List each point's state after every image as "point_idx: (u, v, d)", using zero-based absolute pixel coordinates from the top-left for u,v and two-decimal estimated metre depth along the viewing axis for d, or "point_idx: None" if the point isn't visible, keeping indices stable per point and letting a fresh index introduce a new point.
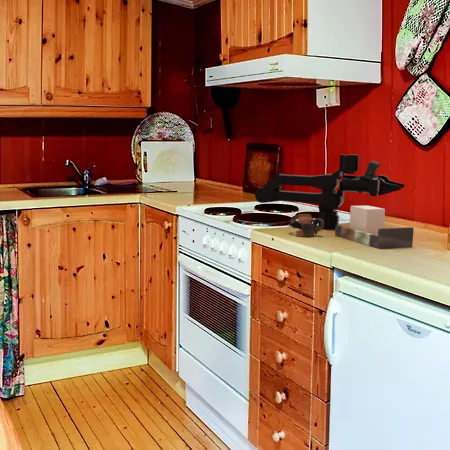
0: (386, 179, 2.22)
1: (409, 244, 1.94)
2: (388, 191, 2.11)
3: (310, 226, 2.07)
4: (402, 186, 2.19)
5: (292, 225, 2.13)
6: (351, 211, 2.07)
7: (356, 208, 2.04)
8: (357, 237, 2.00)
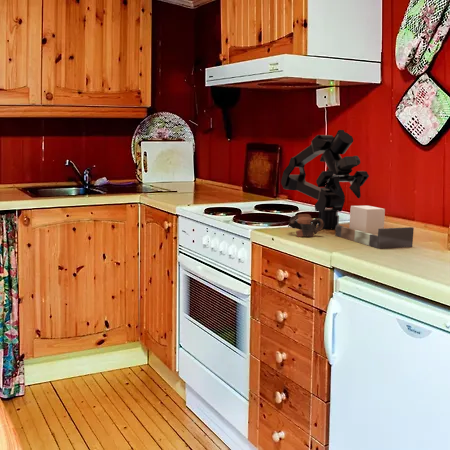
0: (356, 179, 2.17)
1: (409, 244, 1.94)
2: (334, 191, 2.14)
3: (309, 226, 2.06)
4: (358, 196, 2.15)
5: (291, 225, 2.13)
6: (351, 211, 2.07)
7: (356, 208, 2.04)
8: (357, 237, 2.00)
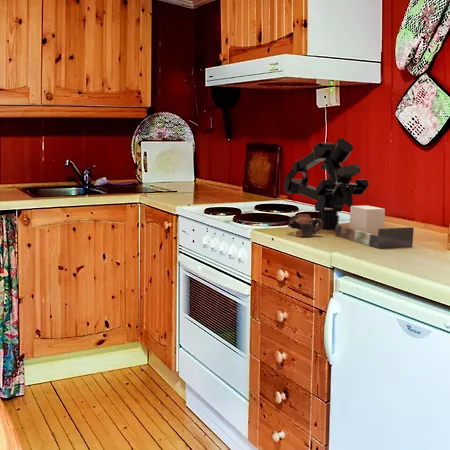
0: (348, 188, 2.15)
1: (409, 244, 1.94)
2: (341, 199, 2.15)
3: (309, 226, 2.06)
4: None
5: (291, 225, 2.13)
6: (351, 211, 2.07)
7: (356, 208, 2.04)
8: (357, 237, 2.00)
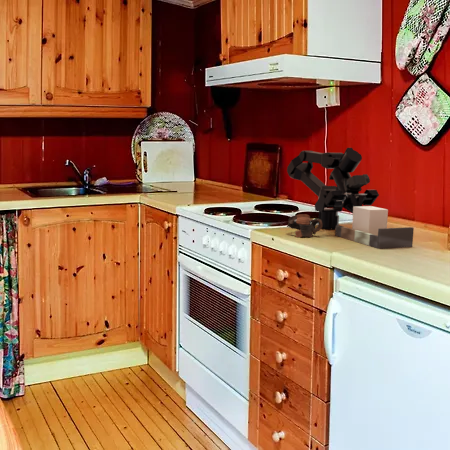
0: (358, 199, 2.10)
1: (409, 244, 1.94)
2: (350, 210, 2.10)
3: (308, 227, 2.06)
4: None
5: (290, 225, 2.12)
6: (354, 212, 2.05)
7: (359, 209, 2.03)
8: (357, 237, 2.00)
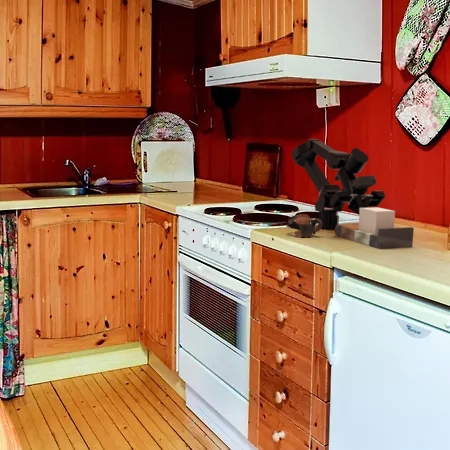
0: (364, 200, 2.07)
1: (409, 244, 1.94)
2: (356, 212, 2.07)
3: (308, 227, 2.06)
4: None
5: (290, 226, 2.12)
6: (360, 213, 2.02)
7: (365, 210, 2.00)
8: (357, 237, 2.00)
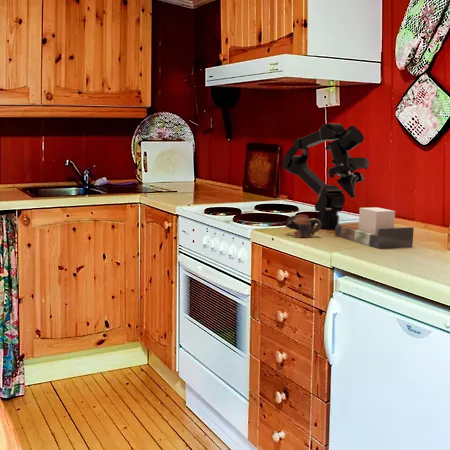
0: (353, 179, 2.16)
1: (409, 244, 1.94)
2: (344, 187, 2.15)
3: (307, 227, 2.05)
4: None
5: (289, 226, 2.11)
6: (360, 213, 2.02)
7: (365, 210, 2.00)
8: (357, 237, 2.00)
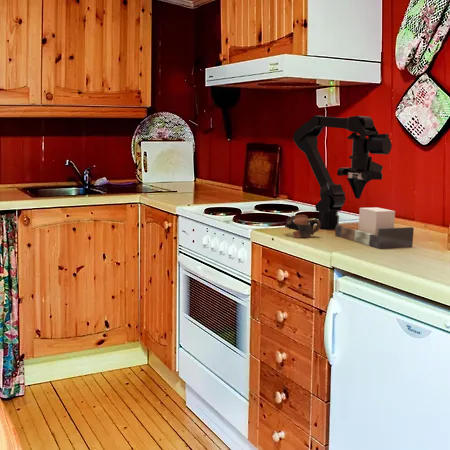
0: None
1: (409, 244, 1.94)
2: (357, 187, 2.14)
3: (307, 227, 2.05)
4: None
5: (288, 226, 2.11)
6: (360, 213, 2.02)
7: (365, 210, 2.00)
8: (357, 237, 2.00)
